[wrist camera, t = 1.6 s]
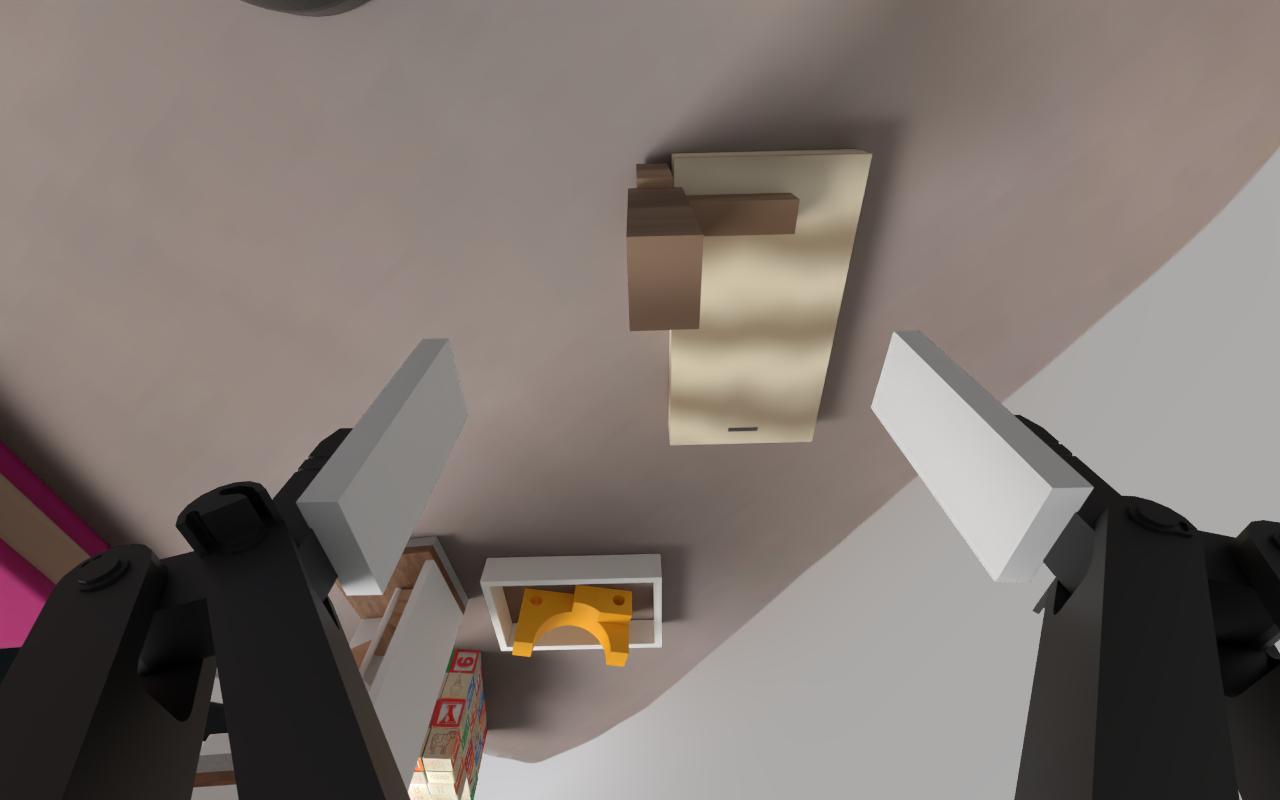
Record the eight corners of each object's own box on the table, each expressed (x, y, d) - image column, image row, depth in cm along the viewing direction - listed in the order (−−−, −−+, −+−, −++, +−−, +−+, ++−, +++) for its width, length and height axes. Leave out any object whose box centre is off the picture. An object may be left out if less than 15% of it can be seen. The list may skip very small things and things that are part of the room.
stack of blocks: (489, 729, 75) (465, 834, 64) (446, 727, 74) (416, 833, 64) (480, 649, 63) (450, 761, 53) (430, 646, 63) (389, 759, 52)
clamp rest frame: (487, 557, 53) (480, 581, 51) (660, 553, 53) (661, 577, 51) (506, 627, 60) (501, 651, 58) (660, 623, 60) (661, 647, 58)
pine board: (671, 153, 32) (674, 159, 30) (856, 148, 32) (872, 153, 30) (668, 427, 44) (670, 445, 42) (803, 424, 44) (812, 442, 42)
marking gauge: (628, 164, 32) (625, 223, 19) (783, 160, 32) (886, 217, 19) (631, 242, 35) (630, 341, 22) (773, 238, 35) (858, 335, 22)
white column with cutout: (436, 535, 51) (175, 1146, 22) (468, 599, 57) (295, 1150, 28) (330, 546, 52) (-60, 1153, 23) (373, 607, 58) (105, 1154, 28)
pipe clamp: (632, 590, 57) (631, 644, 52) (624, 612, 59) (623, 666, 54) (526, 577, 55) (515, 631, 50) (523, 600, 58) (512, 654, 52)
